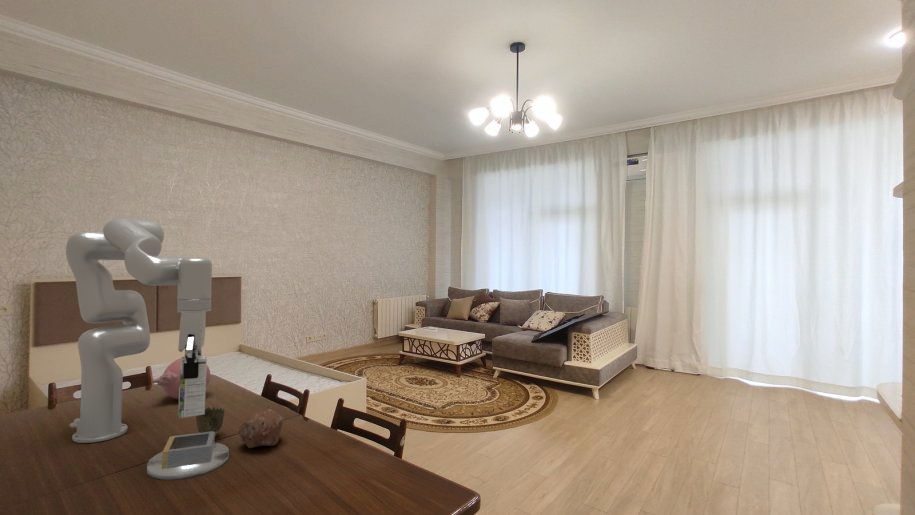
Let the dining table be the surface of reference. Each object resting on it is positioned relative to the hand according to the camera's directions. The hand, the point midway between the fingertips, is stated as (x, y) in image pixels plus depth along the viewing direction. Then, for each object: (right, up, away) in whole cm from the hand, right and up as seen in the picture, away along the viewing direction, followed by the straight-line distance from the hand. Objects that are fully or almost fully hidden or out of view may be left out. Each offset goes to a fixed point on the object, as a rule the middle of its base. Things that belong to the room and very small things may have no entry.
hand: (192, 374), depth 114 cm
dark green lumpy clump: (-4, -23, +15) cm, 28 cm away
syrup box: (0, -10, 0) cm, 10 cm away
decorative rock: (+12, -24, +12) cm, 29 cm away
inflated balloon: (-33, -23, +47) cm, 62 cm away
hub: (-1, -23, 0) cm, 23 cm away
